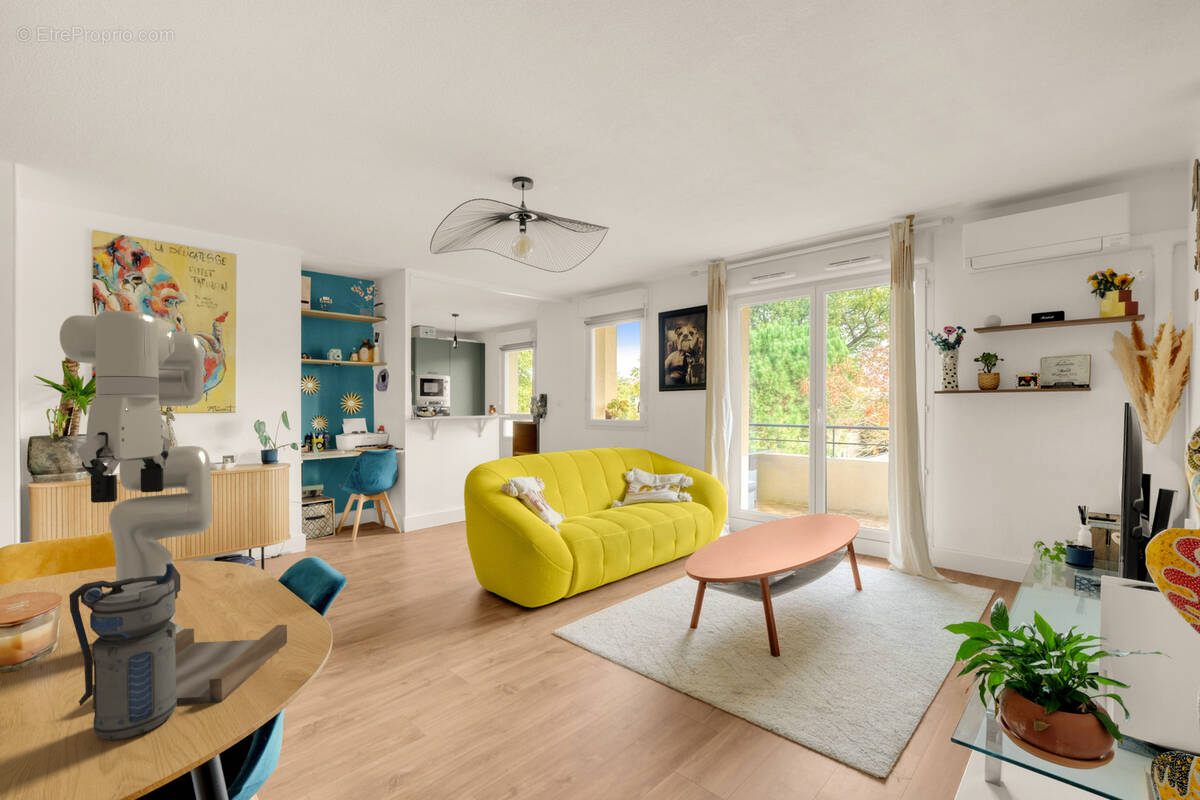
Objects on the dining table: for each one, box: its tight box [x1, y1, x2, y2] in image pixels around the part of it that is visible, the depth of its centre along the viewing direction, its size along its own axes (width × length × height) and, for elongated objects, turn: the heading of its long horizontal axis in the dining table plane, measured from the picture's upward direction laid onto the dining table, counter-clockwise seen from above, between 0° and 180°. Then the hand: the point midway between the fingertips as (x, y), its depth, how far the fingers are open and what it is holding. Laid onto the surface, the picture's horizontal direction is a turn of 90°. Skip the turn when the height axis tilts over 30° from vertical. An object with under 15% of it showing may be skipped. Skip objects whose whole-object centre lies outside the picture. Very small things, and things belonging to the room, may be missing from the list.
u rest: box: [92, 624, 288, 709], centre depth 102 cm, size 21×22×4 cm
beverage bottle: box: [69, 563, 182, 741], centre depth 85 cm, size 10×13×25 cm
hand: (129, 496), depth 84 cm, fingers open, 9 cm apart
